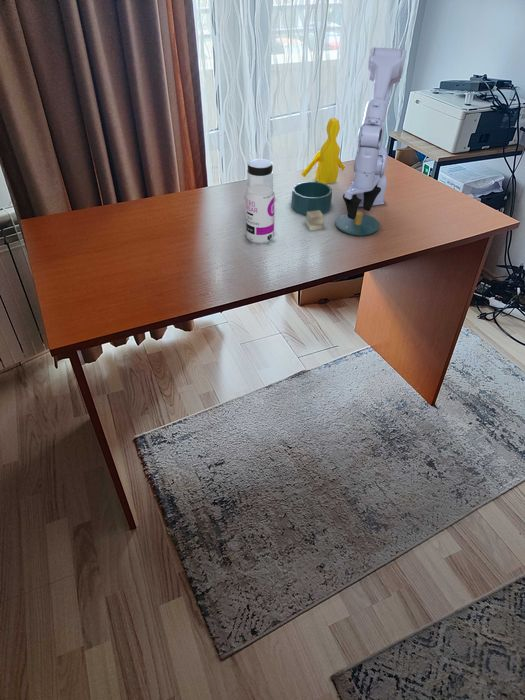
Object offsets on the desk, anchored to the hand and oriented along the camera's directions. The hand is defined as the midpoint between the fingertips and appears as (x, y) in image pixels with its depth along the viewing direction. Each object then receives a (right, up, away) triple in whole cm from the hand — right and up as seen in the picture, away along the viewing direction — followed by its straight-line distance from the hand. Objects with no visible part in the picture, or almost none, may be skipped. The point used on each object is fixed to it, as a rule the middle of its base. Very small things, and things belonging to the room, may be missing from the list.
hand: (359, 214), depth 144 cm
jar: (-30, +10, +17) cm, 36 cm away
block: (-13, -3, +3) cm, 14 cm away
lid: (0, -3, +2) cm, 4 cm away
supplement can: (-30, -8, -2) cm, 31 cm away
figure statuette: (-7, +19, +27) cm, 34 cm away
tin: (-13, +6, +13) cm, 19 cm away
